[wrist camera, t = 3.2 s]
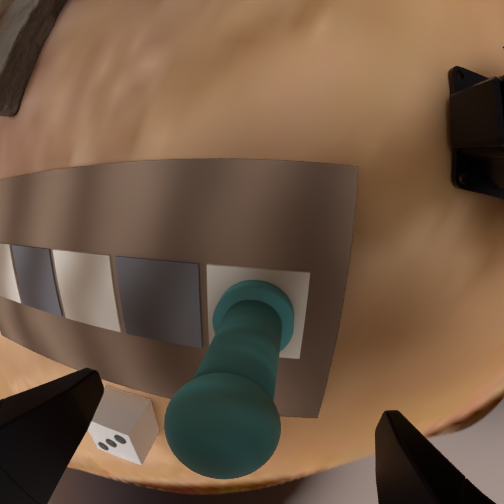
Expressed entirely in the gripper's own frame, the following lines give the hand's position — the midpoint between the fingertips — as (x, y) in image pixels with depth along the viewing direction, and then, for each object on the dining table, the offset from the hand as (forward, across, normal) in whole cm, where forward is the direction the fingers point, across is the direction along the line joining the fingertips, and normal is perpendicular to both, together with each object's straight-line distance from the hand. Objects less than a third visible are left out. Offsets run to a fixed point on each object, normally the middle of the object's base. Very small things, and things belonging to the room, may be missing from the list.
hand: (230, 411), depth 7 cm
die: (+8, +10, +11) cm, 17 cm away
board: (+8, +10, 0) cm, 13 cm away
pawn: (+6, 0, 0) cm, 6 cm away
